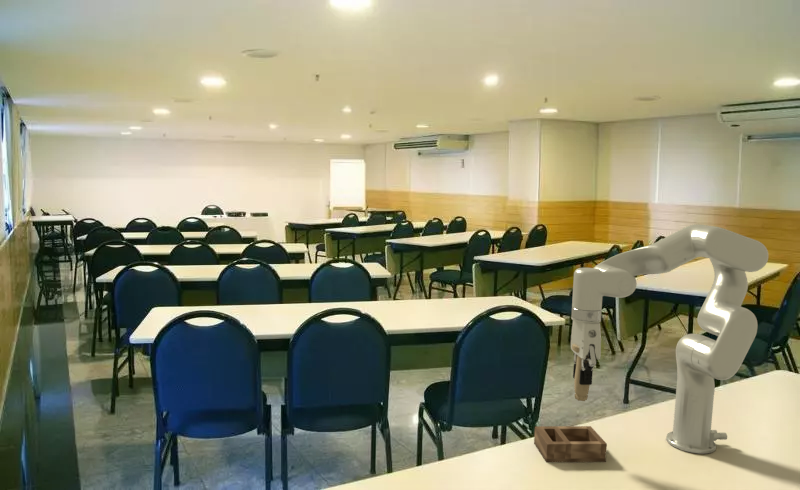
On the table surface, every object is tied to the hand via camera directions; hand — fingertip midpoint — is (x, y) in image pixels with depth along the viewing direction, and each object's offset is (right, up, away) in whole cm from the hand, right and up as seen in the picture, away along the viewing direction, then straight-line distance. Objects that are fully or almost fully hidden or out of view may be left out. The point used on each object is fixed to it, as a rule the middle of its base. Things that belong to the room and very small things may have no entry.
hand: (582, 380), depth 159 cm
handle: (0, -5, +1) cm, 5 cm away
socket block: (-3, -20, +2) cm, 20 cm away
